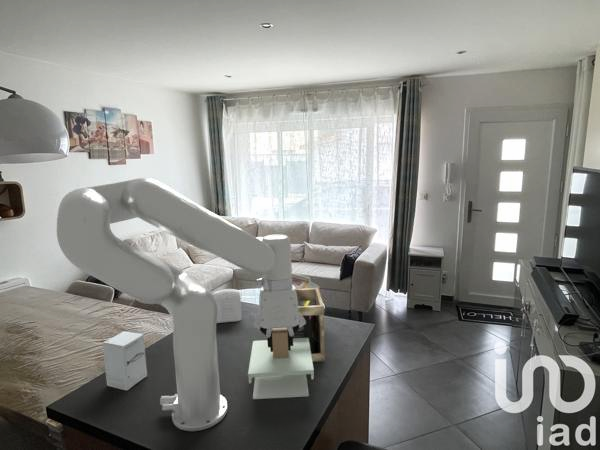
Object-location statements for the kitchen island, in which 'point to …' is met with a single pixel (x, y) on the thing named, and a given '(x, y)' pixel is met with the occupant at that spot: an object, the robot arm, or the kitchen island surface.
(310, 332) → the tampon box
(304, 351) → the lid
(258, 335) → the kitchen island surface
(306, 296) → the crate
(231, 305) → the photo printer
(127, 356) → the supplement box
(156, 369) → the kitchen island surface
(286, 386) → the mat
